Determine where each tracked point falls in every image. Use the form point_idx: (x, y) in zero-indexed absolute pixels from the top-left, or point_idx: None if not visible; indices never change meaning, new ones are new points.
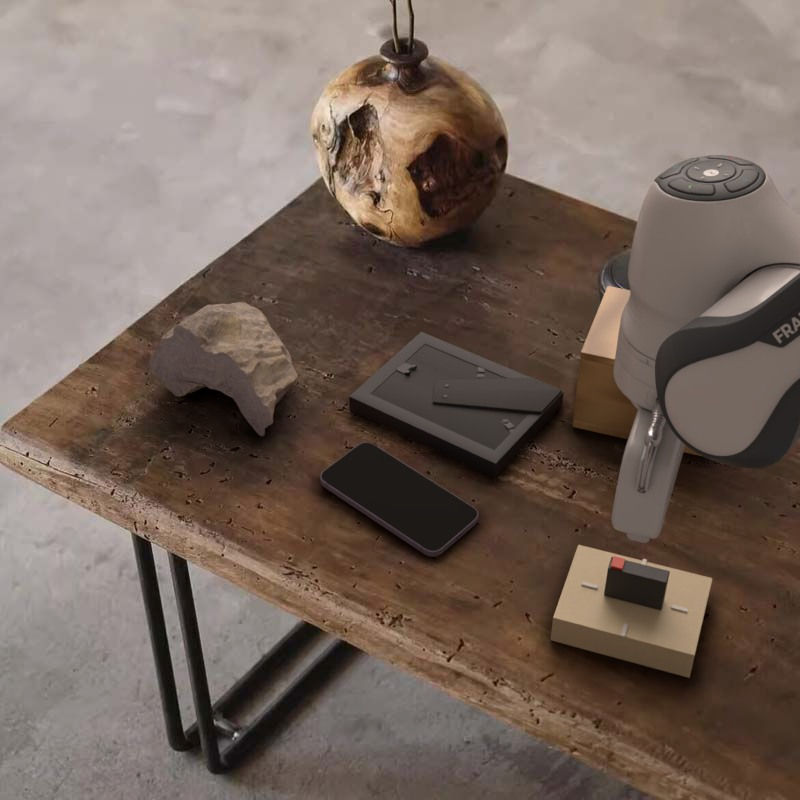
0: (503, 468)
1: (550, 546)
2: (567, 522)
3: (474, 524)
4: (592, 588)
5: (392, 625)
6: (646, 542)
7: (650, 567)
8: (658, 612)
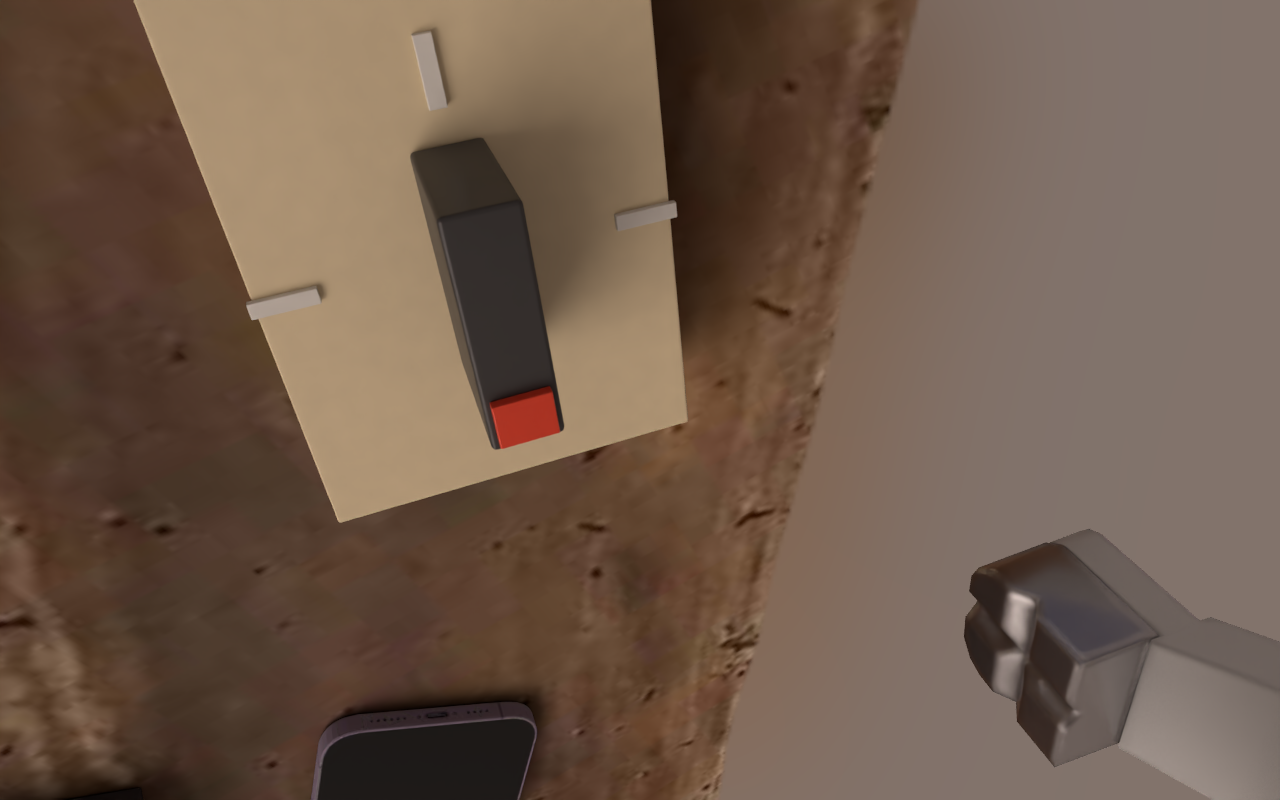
0: (80, 798)
1: (295, 546)
2: (151, 566)
3: (363, 716)
4: None
5: (758, 638)
6: (1081, 531)
7: (468, 302)
8: (493, 141)
